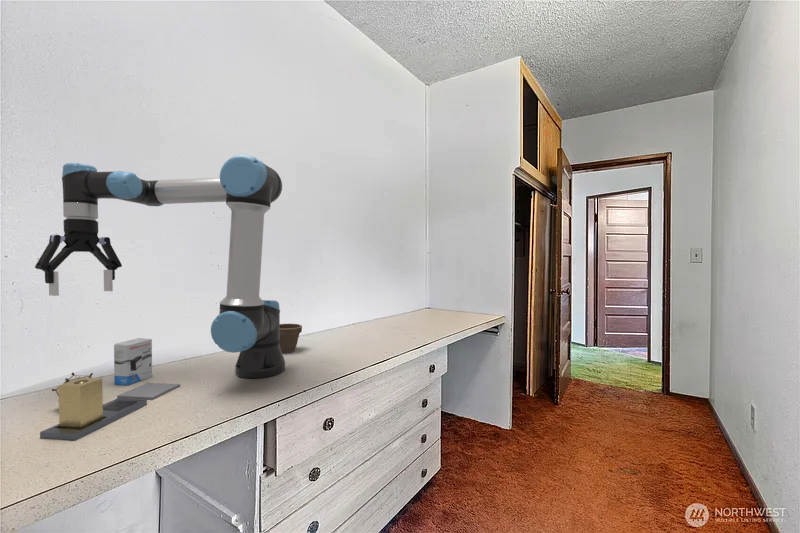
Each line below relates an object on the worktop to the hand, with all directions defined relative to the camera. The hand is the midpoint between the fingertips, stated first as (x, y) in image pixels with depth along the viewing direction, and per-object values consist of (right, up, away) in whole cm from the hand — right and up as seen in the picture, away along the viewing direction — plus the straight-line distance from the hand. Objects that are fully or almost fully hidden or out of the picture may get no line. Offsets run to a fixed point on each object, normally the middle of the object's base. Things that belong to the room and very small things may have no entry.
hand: (82, 293), depth 106 cm
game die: (+12, -27, -15) cm, 33 cm away
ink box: (+12, -26, +4) cm, 29 cm away
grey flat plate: (+23, -27, -23) cm, 42 cm away
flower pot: (+47, -26, +38) cm, 66 cm away
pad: (+23, -26, -6) cm, 36 cm away
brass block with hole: (+23, -27, -27) cm, 44 cm away
